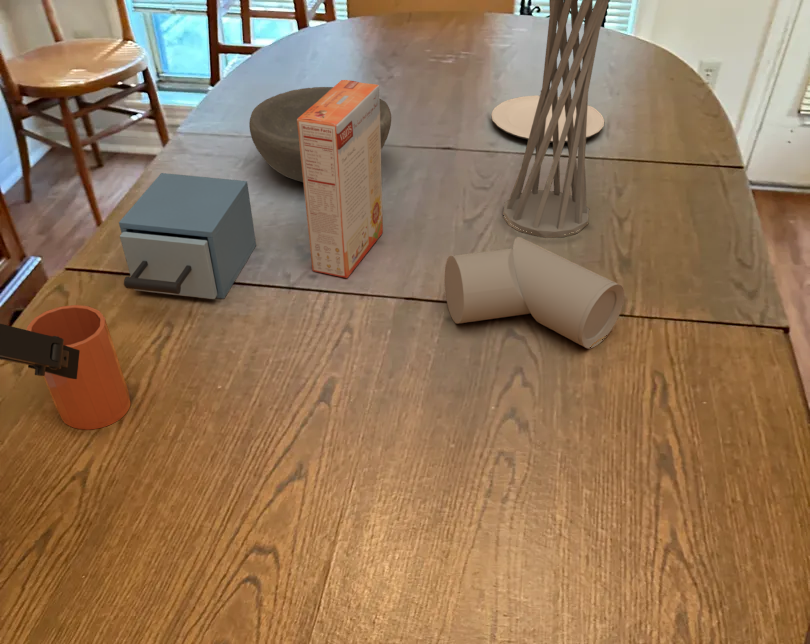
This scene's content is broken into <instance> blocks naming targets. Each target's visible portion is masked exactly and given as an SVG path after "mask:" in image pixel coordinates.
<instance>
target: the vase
mask: <svg viewBox="0 0 810 644" xmlns="http://www.w3.org/2000/svg"><path fill="white" fill-rule="evenodd" d="M578 1H579V0H548V2H549V5H548V6H549V18H548V27H547V36H546V46H545V47H546V48H545V56H544V67H543V76H542V86H541V90H540V94H539V96H540V98H539V101H538V105H537V109H536V113H535V117H534V120H533V124H532V128H531V132H530V136H529V139H528V140H527V143H526V148H525V151H524V155H523V160H522V163H521V166H520V170H519V172H518V176H517V178H516V181H515V183H514V186H513V188H512V192H511V193H510V197H509V199H507V200H506V201H505V202H504V204H503V211H502V218H503V220H505V222H506V224H507V225H508V226H509V227H511V228H513V229H515V230H516V231H518V232H520V233H523V234H527V235H531V236H537V237H541V238H547V239H548V238H565V237H568V236H573V235H576V234H579V233H580V232H581V231H582V230H583V229H584V228H586V227H587V226H588V225H589V223H590V222H589V221H590V220H589V219H590V218H589V215H590V210H591V209H590V207H589V206H587V205H588V204H587V187H586V186H587V185H586V183H587V182H586V181H587V180H586V148H587V147H586V145H587V138H586V127H587V106H588V105H589V104H588V103H589V90H590V85H591V80H592V73H593V68H594V63H595V58H596V52H597V47H598V41H599V36H600V31H601V28H602V25H603V21H604V18H605V16H606V11H607V9H608V5H609V2H610V0H595V3H594V0H582V1H581V3H580V6H579V3H578ZM593 3H594V4H593ZM593 5H594V6H593ZM569 16H570V21H571V22H570V23H571V24H570V25H571V31H570V33H569V36H568V34H567V23H568V21H569ZM582 25H583V27H584V28H583V34H582V37H581V40H580V31H581V29H582V28H581V27H582ZM571 54H572V57H573V58H572V63H571V65H570V61H569V60H570V58H571ZM559 55H560V60H559V64H558V57H559ZM581 64H582V65H581ZM561 82H562V88H561V92H560V94H559V93H558V91H559V90H558V89H559V87H560V83H561ZM573 84H574V90H573V91H574V92H573V95H572V87H573ZM558 95H559V96H558ZM558 97H559V99H558ZM551 105H552V118H551V120H550V123H549V126H548V128H547V131H546V133H545V125H546V118H547V115H548V113H549V110H550V107H551ZM564 105H565V117H566V121H565V124H564V127H563V131H562V134H561V137H560V140H559V128H558V120H559V118H560V115H561V112H562V110H563V107H564ZM575 107H576V119H575V125H574V124H573V114H574V111H575ZM544 134H545V136H544ZM552 136H553V143H552V163H551V166H550V169H549V173H548V176H547V178H546V179H547V180H546V183H545V186H544V189H539V186H540V177H541V167H542V164H543V162H544V159H545V157H546V153H547V151H548V148H549V146H550V141H551V138H552ZM566 137H567V140H568V142H567V153H568V159H567V165H566V170H565V176H564V182H563V188H562V191H561V177H560V176H561V173H560V172H561V171H560V170H561V169H560V158H561V156H562V153H563V149H564V146H565V143H566V142H565V140H566ZM534 152H535V153H534ZM533 154H535V155H534V162H533V164H532V168H531V169H530V172H529V176H528V177H526V176H527V173H528V170H529V165H530V163H531V160H532V157H533ZM526 178H527V180H526ZM525 180H526V184H525ZM524 184H525V186H524ZM552 185H553V190H551V189H552ZM523 188H524V189H523ZM570 193H571V194H570ZM503 215H504V216H505V217H506V218H505V217H504V216H503ZM506 219H507V220H508V221H507V220H506ZM510 223H511V224H512V225H511V224H510ZM587 223H588V224H587ZM513 225H514V226H513ZM515 226H516V227H518V228H519V229H518V228H516V227H515ZM583 226H584V227H583ZM582 227H583V228H582ZM581 228H582V229H581ZM520 229H521V230H520ZM579 229H580V230H579ZM523 230H524V231H523ZM577 230H579V231H577ZM526 231H527V232H526ZM576 231H577V232H576ZM531 232H532V233H531ZM571 232H574V233H571ZM569 233H570V234H569ZM564 234H566V235H564Z"/></svg>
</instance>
